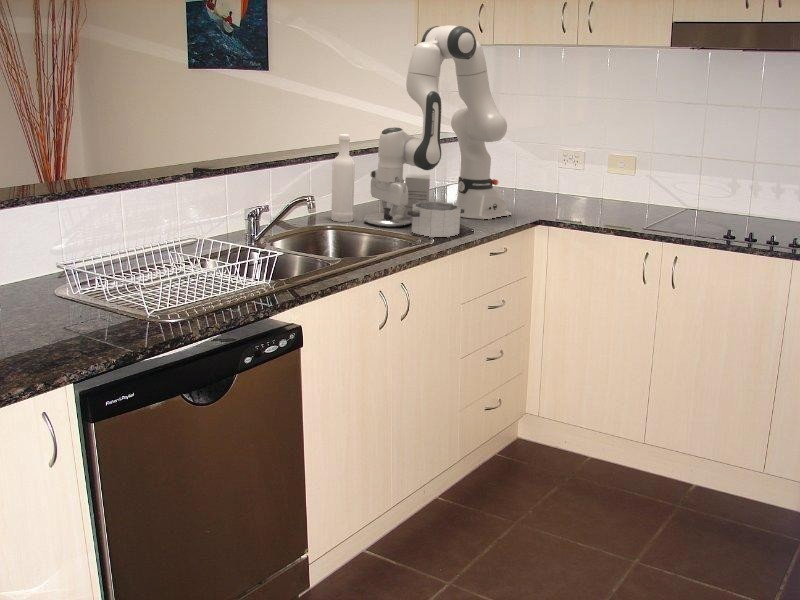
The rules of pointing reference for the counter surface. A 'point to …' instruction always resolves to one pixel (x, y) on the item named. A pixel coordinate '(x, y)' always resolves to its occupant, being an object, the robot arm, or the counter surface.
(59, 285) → the counter surface
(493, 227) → the counter surface
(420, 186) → the supplement box
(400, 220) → the lid
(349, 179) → the bottle
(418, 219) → the pot
